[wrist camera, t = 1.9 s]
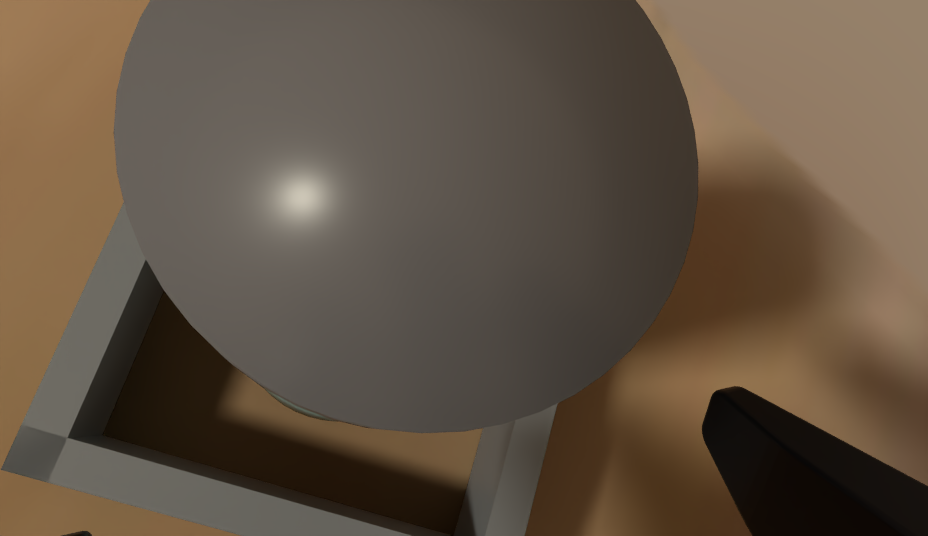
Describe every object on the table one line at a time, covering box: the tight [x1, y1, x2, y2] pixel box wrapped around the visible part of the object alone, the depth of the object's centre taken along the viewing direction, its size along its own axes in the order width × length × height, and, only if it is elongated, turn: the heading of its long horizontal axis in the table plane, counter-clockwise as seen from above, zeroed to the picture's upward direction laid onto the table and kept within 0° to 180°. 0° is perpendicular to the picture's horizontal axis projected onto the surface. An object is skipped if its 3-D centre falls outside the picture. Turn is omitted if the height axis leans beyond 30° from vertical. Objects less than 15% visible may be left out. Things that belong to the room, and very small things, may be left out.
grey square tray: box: [1, 203, 558, 536], centre depth 19 cm, size 12×12×3 cm
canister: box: [114, 0, 698, 433], centre depth 14 cm, size 6×6×14 cm
